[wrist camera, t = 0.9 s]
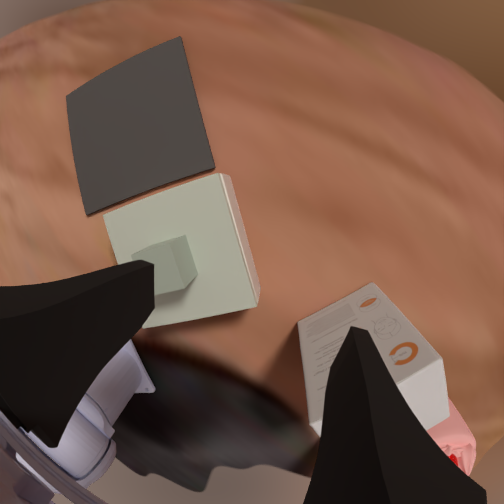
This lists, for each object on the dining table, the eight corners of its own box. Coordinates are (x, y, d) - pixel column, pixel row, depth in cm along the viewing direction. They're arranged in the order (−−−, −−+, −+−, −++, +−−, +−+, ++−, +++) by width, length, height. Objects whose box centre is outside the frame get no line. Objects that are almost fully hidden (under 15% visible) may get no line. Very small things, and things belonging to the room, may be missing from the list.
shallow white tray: (161, 308, 26) (146, 323, 23) (129, 209, 24) (109, 212, 21) (260, 287, 25) (258, 302, 22) (229, 175, 23) (221, 173, 20)
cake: (435, 452, 29) (460, 512, 15) (318, 484, 32) (322, 556, 18) (461, 364, 25) (518, 436, 11) (308, 408, 28) (316, 515, 14)
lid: (150, 320, 24) (126, 346, 19) (113, 213, 22) (79, 220, 17) (258, 298, 22) (253, 326, 18) (222, 174, 20) (206, 170, 16)
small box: (323, 368, 26) (342, 471, 14) (295, 320, 25) (305, 425, 13) (394, 331, 25) (452, 417, 12) (373, 279, 24) (443, 355, 11)
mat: (88, 214, 25) (86, 215, 25) (68, 96, 22) (66, 96, 22) (215, 167, 23) (214, 167, 23) (181, 37, 20) (180, 36, 20)
